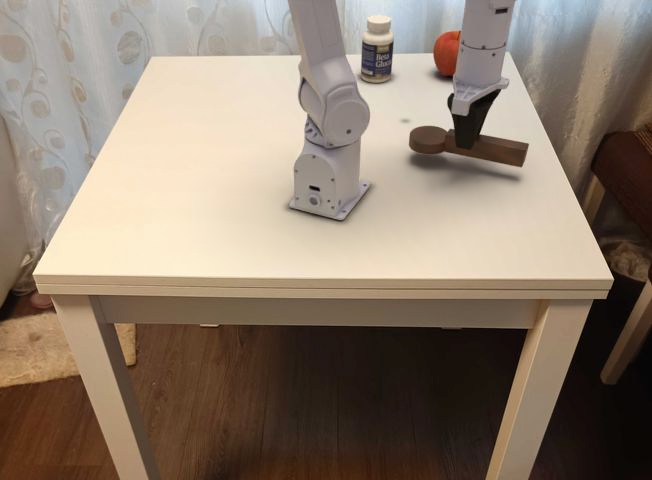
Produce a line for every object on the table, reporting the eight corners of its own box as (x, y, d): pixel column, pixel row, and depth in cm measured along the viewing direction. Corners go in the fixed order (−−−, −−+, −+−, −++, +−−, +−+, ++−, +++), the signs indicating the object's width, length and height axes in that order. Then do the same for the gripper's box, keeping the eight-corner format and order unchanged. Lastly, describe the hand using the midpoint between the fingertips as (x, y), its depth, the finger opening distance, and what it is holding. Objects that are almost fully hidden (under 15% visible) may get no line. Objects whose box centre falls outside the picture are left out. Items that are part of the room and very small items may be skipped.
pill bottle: (376, 86, 110) (379, 26, 104) (354, 77, 113) (356, 19, 106) (397, 77, 113) (401, 18, 106) (375, 68, 116) (378, 10, 109)
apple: (464, 65, 116) (471, 18, 110) (478, 81, 111) (486, 33, 105) (425, 68, 115) (430, 21, 109) (437, 85, 110) (443, 37, 104)
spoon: (528, 154, 88) (532, 137, 86) (518, 174, 85) (522, 156, 83) (416, 133, 94) (418, 116, 92) (403, 150, 90) (404, 133, 88)
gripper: (500, 68, 73) (480, 174, 82) (529, 25, 81) (508, 126, 91) (441, 58, 75) (428, 163, 85) (475, 18, 84) (460, 117, 94)
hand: (466, 143), depth 88 cm, fingers closed on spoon, 2 cm apart
